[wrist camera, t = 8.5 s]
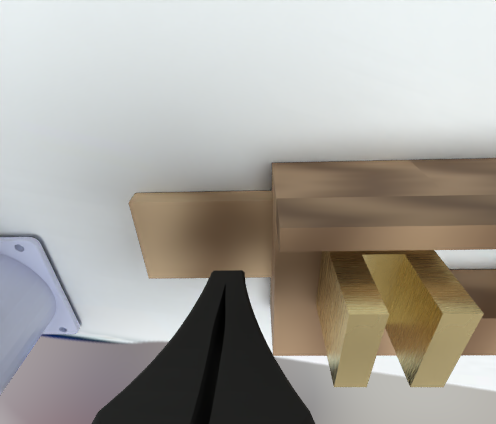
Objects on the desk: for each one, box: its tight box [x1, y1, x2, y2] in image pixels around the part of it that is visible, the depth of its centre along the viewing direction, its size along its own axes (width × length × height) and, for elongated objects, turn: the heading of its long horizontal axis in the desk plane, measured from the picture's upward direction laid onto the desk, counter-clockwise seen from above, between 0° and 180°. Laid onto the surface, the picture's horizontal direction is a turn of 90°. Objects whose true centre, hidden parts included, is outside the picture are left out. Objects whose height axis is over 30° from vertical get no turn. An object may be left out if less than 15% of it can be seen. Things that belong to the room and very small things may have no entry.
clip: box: [316, 250, 484, 387], centre depth 12 cm, size 4×4×4 cm
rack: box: [129, 158, 496, 356], centre depth 15 cm, size 22×10×6 cm, turn 92°
